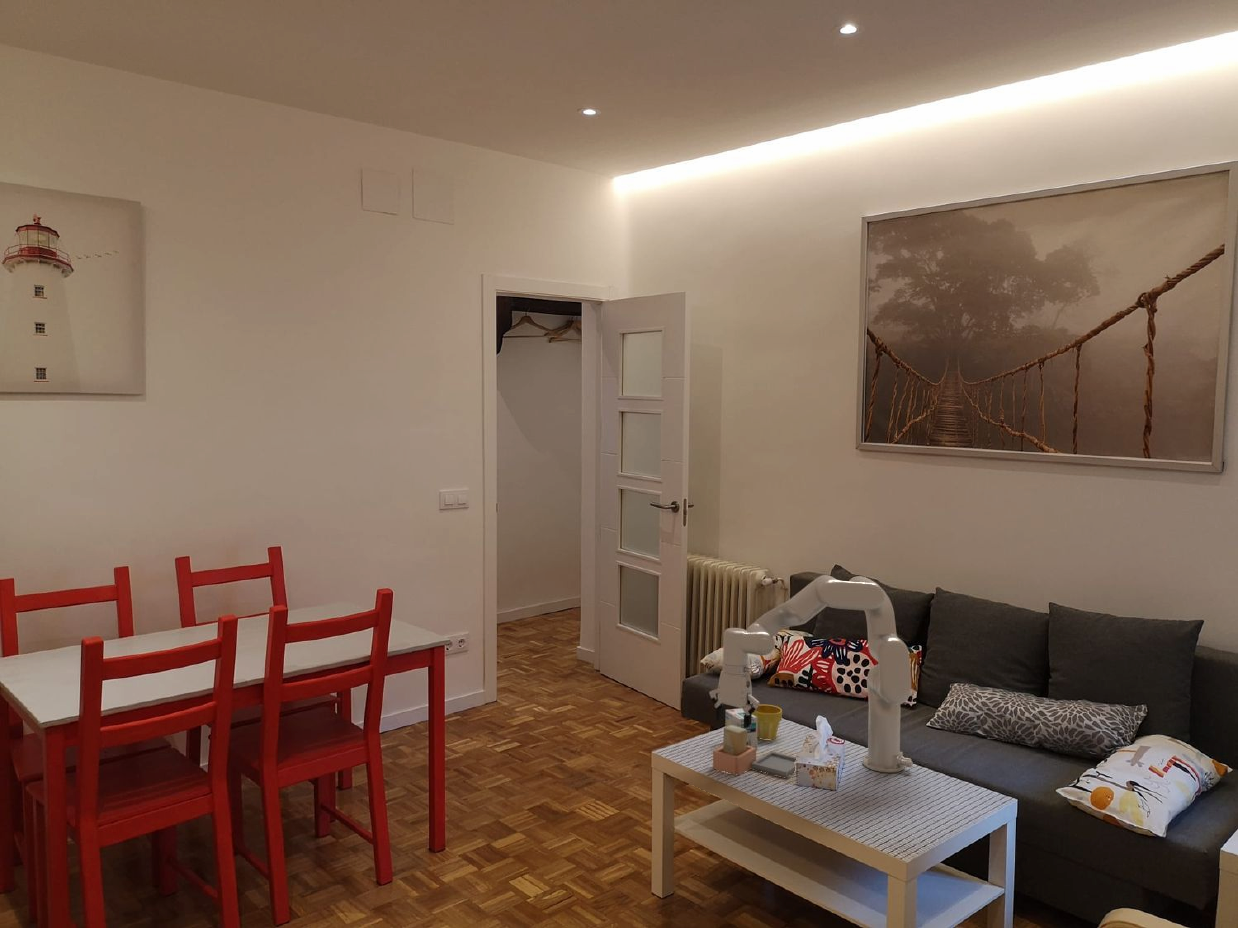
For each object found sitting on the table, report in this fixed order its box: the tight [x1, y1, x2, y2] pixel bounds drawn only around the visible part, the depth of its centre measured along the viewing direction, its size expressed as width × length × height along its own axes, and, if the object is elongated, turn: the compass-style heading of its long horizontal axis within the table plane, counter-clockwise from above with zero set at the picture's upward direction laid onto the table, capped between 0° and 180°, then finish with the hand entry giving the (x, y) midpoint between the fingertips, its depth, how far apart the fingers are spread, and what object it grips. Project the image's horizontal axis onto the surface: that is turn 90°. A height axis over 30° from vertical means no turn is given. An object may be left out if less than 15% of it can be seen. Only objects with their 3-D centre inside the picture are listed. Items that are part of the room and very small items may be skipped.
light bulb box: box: [725, 707, 758, 749], centre depth 292 cm, size 11×7×11 cm, turn 22°
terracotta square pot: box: [712, 745, 757, 776], centre depth 273 cm, size 9×11×6 cm
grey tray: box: [750, 750, 798, 779], centre depth 273 cm, size 12×13×2 cm
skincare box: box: [722, 725, 747, 756], centre depth 273 cm, size 6×4×12 cm
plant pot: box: [752, 704, 783, 740], centre depth 300 cm, size 10×10×10 cm
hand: (733, 723), depth 273 cm, fingers open, 9 cm apart
